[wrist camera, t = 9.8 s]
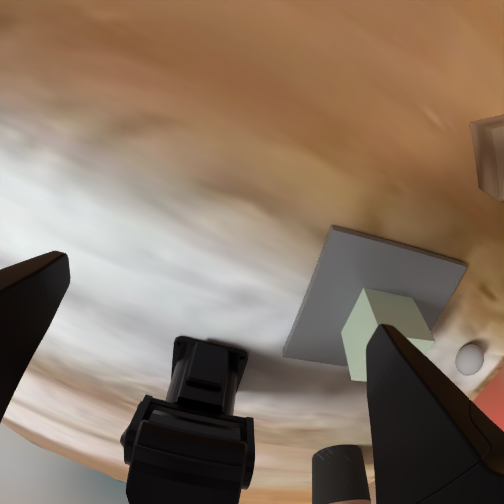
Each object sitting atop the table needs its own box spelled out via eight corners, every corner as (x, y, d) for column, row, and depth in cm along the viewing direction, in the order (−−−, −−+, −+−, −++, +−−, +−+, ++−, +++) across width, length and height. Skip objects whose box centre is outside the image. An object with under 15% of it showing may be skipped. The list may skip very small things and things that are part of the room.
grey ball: (465, 360, 27) (476, 381, 24) (445, 359, 27) (456, 381, 24) (481, 339, 26) (494, 360, 23) (462, 336, 25) (474, 359, 23)
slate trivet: (399, 365, 27) (401, 371, 27) (282, 350, 27) (282, 356, 26) (462, 262, 22) (467, 267, 21) (331, 224, 21) (333, 229, 20)
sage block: (387, 339, 25) (403, 384, 20) (340, 332, 24) (351, 380, 20) (412, 297, 22) (435, 341, 18) (363, 287, 22) (380, 333, 18)
